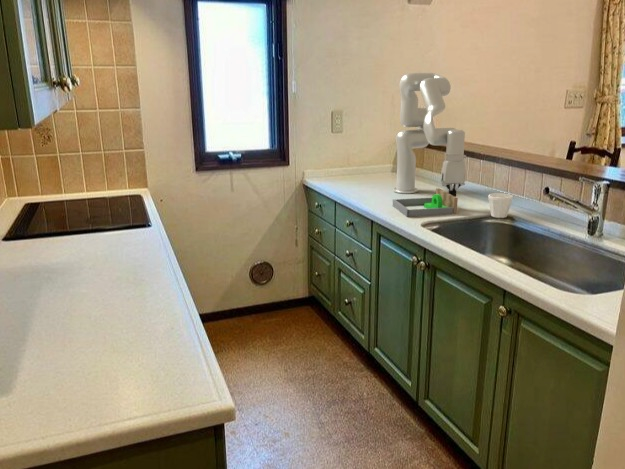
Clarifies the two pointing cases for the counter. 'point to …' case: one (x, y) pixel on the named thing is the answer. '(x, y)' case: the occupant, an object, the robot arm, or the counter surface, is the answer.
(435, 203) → the mechanical part
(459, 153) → the robot arm
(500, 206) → the cup
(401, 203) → the grey tray
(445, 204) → the gate
